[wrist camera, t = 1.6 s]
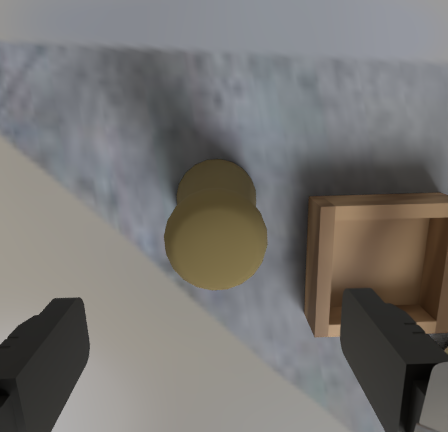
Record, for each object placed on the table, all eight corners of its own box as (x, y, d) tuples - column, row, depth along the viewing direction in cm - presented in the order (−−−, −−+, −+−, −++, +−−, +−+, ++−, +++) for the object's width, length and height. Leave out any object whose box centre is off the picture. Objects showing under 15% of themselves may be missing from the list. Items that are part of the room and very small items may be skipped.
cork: (212, 141, 26) (208, 158, 15) (272, 195, 27) (308, 245, 17) (160, 202, 27) (123, 257, 17) (220, 251, 28) (222, 332, 18)
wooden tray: (439, 192, 27) (468, 202, 24) (423, 309, 30) (448, 332, 27) (308, 196, 27) (320, 206, 24) (304, 313, 30) (314, 337, 27)
